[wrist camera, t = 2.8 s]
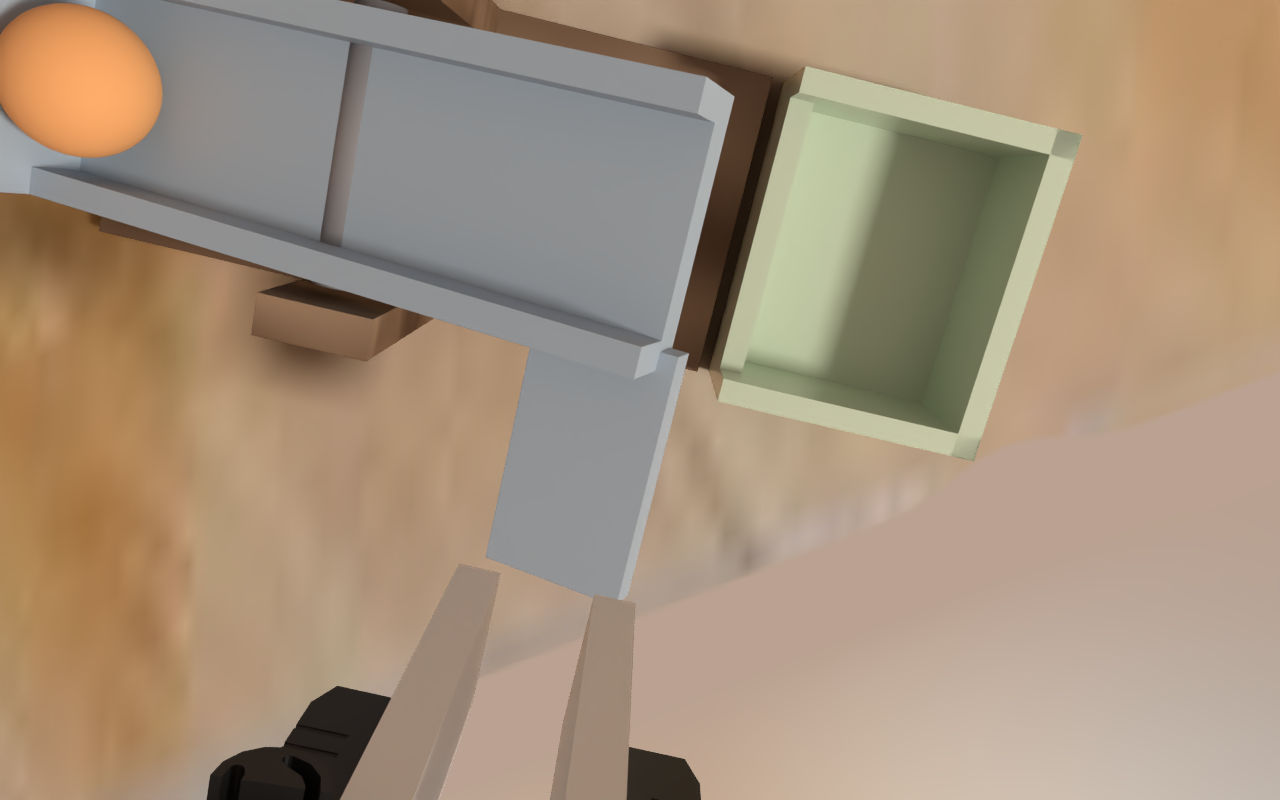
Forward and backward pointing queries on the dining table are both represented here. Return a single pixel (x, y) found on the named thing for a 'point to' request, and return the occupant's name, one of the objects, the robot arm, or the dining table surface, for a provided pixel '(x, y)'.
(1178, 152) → the dining table surface
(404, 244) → the lever
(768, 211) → the dish
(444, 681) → the robot arm
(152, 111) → the ball
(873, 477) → the dining table surface
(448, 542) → the dining table surface
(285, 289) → the stand
